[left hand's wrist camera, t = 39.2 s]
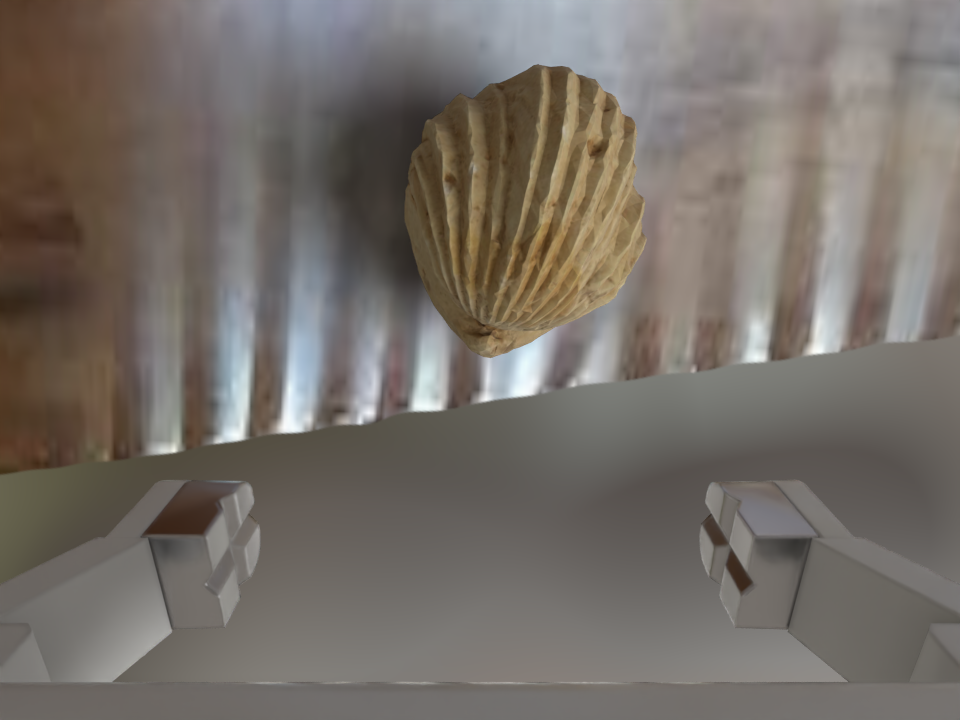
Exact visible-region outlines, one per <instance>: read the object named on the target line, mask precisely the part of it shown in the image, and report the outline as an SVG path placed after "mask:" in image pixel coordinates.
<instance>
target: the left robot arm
mask: <svg viewBox="0 0 960 720" xmlns="http://www.w3.org/2000/svg"><path fill="white" fill-rule="evenodd" d="M254 503H255V500H254V495H253V491H252V486H251V485H250V484H249V483H248V482H246V481H199V480H192V481H189V480H163V481H160V482H156V483H155V484H154V486H153V487H152V488H151V489H150V490H149V491H148V492H147V493H146V494H145V495H144V496H143V498H142V499H141V500H140V501H139V502H138V503H137V504H136V505H135V506H134V507H133V508H132V510H131V511H130V512H129V513H128V514H127V515H126V516H125V517H124V518H123V519H122V520H121V522H120V523H119V524H118V525H117V526H116V527H115V528H114V529H113V530H112V531H111V532H110V533H109V535H108V536H107V537H106V538H95V539H92V540H90V541H88V542H86V543H84V544H82V545H80V546H78V547H76V548H74V549H72V550H70V551H68V552H66V553H63V554H61V555H59V556H57V557H55V558H53V559H51V560H49V561H47V562H45V563H43V564H41V565H39V566H37V567H34V568H32V569H30V570H28V571H26V572H24V573H22V574H20V575H18V576H16V577H14V578H12V579H10V580H8V581H5V582H3V583H1V584H0V720H960V584H958V583H956V582H954V581H952V580H950V579H948V578H946V577H944V576H942V575H940V574H938V573H936V572H934V571H932V570H930V569H927V568H925V567H923V566H921V565H919V564H917V563H915V562H913V561H911V560H909V559H907V558H905V557H903V556H901V555H899V554H896V553H894V552H892V551H890V550H888V549H886V548H884V547H882V546H880V545H878V544H876V543H874V542H872V541H870V540H867V539H865V538H854V537H853V536H852V535H851V533H850V532H849V531H848V530H847V529H846V528H845V527H844V526H843V525H842V524H841V523H840V521H839V520H838V519H837V518H836V517H835V516H834V515H833V514H832V513H831V512H830V511H829V509H828V508H827V507H826V506H825V505H824V504H823V503H822V502H821V501H820V500H819V499H818V497H817V496H816V495H815V494H814V493H813V492H812V491H811V490H810V489H809V488H808V487H807V486H806V484H805V483H803V482H801V481H799V480H776V481H752V482H711V484H710V486H709V488H708V490H707V494H706V500H705V503H706V505H707V506H708V508H709V510H710V511H711V514H710V515H709V516H708V517H707V518H706V519H705V520H704V521H703V522H702V523H701V530H700V538H699V541H700V553H701V558H702V561H703V565H704V567H705V570H706V571H707V574H708V576H709V577H710V578H711V579H712V580H714V581H715V582H717V583H718V584H720V585H721V590H720V595H719V597H720V599H721V601H722V603H723V605H724V607H725V609H726V611H727V613H728V615H729V617H730V619H731V621H732V623H733V625H734V626H735V628H757V629H788V632H789V633H790V634H791V635H792V636H793V637H795V638H796V639H797V640H798V641H800V642H801V643H802V644H803V645H804V646H806V647H807V648H808V649H809V650H810V651H812V652H813V653H814V654H815V655H817V656H818V657H819V658H820V659H821V660H823V661H824V662H825V663H826V664H827V665H829V666H830V667H831V668H832V669H834V670H835V671H836V672H837V673H838V674H840V675H841V676H842V677H843V678H844V679H846V680H847V681H848V682H112V681H113V680H115V679H116V678H117V677H118V676H119V675H121V674H122V673H123V672H124V671H125V670H127V669H128V668H129V667H130V666H132V665H133V664H134V663H135V662H136V661H138V660H139V659H140V658H141V657H142V656H144V655H145V654H146V653H147V652H149V651H150V650H151V649H152V648H153V647H155V646H156V645H157V644H158V643H160V642H161V641H162V640H163V639H164V638H166V637H167V636H168V635H169V634H170V633H172V629H202V628H225V627H226V625H227V623H228V621H229V619H230V617H231V615H232V613H233V611H234V609H235V607H236V605H237V603H238V601H239V599H240V597H241V595H240V590H239V585H240V584H242V583H243V582H245V581H246V580H248V579H249V578H250V577H251V576H252V574H253V572H254V569H255V567H256V565H257V561H258V557H259V552H260V529H259V523H258V522H257V521H256V520H255V519H254V518H253V517H252V516H251V515H250V514H249V511H250V510H251V508H252V506H253V505H254Z"/></svg>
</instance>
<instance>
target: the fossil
mask: <svg viewBox="0 0 960 720" xmlns="http://www.w3.org/2000/svg"><path fill="white" fill-rule="evenodd" d="M636 137H637V130H636V125H635V122H634V121H633V119H632V118H631V117H628V116H626V115H624V114H622V113H621V110H620V107H619V104H618V102H617V99H616V97H615V96H613V95H612V94H610V93H607V92H605V91H603V89H602V88H601V87H600V85H599V84H598V82H597V81H596V80H595V79H590V78H587V77H585V76H582V75H577V74H575V73H574V72H573V71H572V70H571V69H570V68H569V67H564V66H557V67H547V66H542V65H534V66H532V67H531V68H529V69H528V70H526V71H524V72H522V73H520V74H518V75H516V76H514V77H512V78H510V79H508V80H506V81H504V82H501V83H496V84H489V85H488V86H487V87H486V88H485V89H483V90H482V91H481V92H480V93H479V94H478V95H477V96H476V97H474V98H473V99H471V98H468V97H466V96H465V95H463V94H461V93H460V94H459V95H457V96H456V97H455V98H454V99H453V100H452V101H451V103H450V104H448V105H446V106H445V108H444V111H443V112H441V113H440V114H438V115H436V116H435V117H434V118H433V119H427V121H426V122H425V126H424V130H423V131H422V143H421V144H420V145H419V146H418V147H417V148H416V149H415V150H414V151H413V153H412V156H411V164H410V167H409V171H408V175H409V176H408V180H409V183H408V186H407V188H406V190H405V194H406V199H405V213H404V220H405V223H406V226H407V230H408V233H409V236H410V239H411V244H412V250H413V254H414V257H415V260H416V263H417V266H418V271H419V274H420V276H421V279H422V281H423V284H424V287H425V289H426V291H427V293H428V295H429V297H430V299H431V301H432V302H433V304H434V306H435V308H436V309H437V310H438V312H439V313H440V314H441V316H442V317H443V318H444V320H445V321H446V323H447V324H448V326H449V327H450V328H451V329H452V330H453V331H454V332H455V333H456V334H457V335H458V336H459V337H460V338H461V339H462V340H463V341H464V342H465V344H466V345H467V346H468V348H469V349H470V350H471V351H473V352H475V353H477V354H479V355H481V356H483V357H488V358H492V357H495V356H498V355H500V354H504V353H508V352H509V351H511V350H513V349H515V348H519V347H521V346H524V345H526V344H528V343H531V342H532V341H534V340H535V339H537V338H538V337H540V336H541V335H543V334H545V333H546V332H548V331H550V330H551V329H553V328H554V327H557V326H561V325H564V324H566V323H569V322H571V321H573V320H576V319H578V318H580V317H582V316H584V315H585V314H587V313H589V312H591V311H592V310H594V309H596V308H598V307H600V306H603V305H605V304H607V303H608V302H610V301H611V300H612V299H613V298H615V297H616V295H617V292H618V290H619V289H620V288H621V287H622V286H623V284H624V283H625V281H626V278H627V276H628V275H629V274H630V273H631V271H632V268H633V266H634V264H635V263H636V261H637V259H638V258H639V256H640V255H641V253H642V252H643V249H644V246H645V243H646V239H647V238H646V237H645V236H644V234H643V233H642V232H641V231H642V224H641V219H642V216H643V214H644V207H645V200H644V198H643V197H642V196H640V195H639V194H638V193H637V191H636V190H635V188H634V186H633V179H634V176H635V173H636V170H637V167H636V166H635V164H634V161H633V159H634V155H635V147H636Z"/></svg>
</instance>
